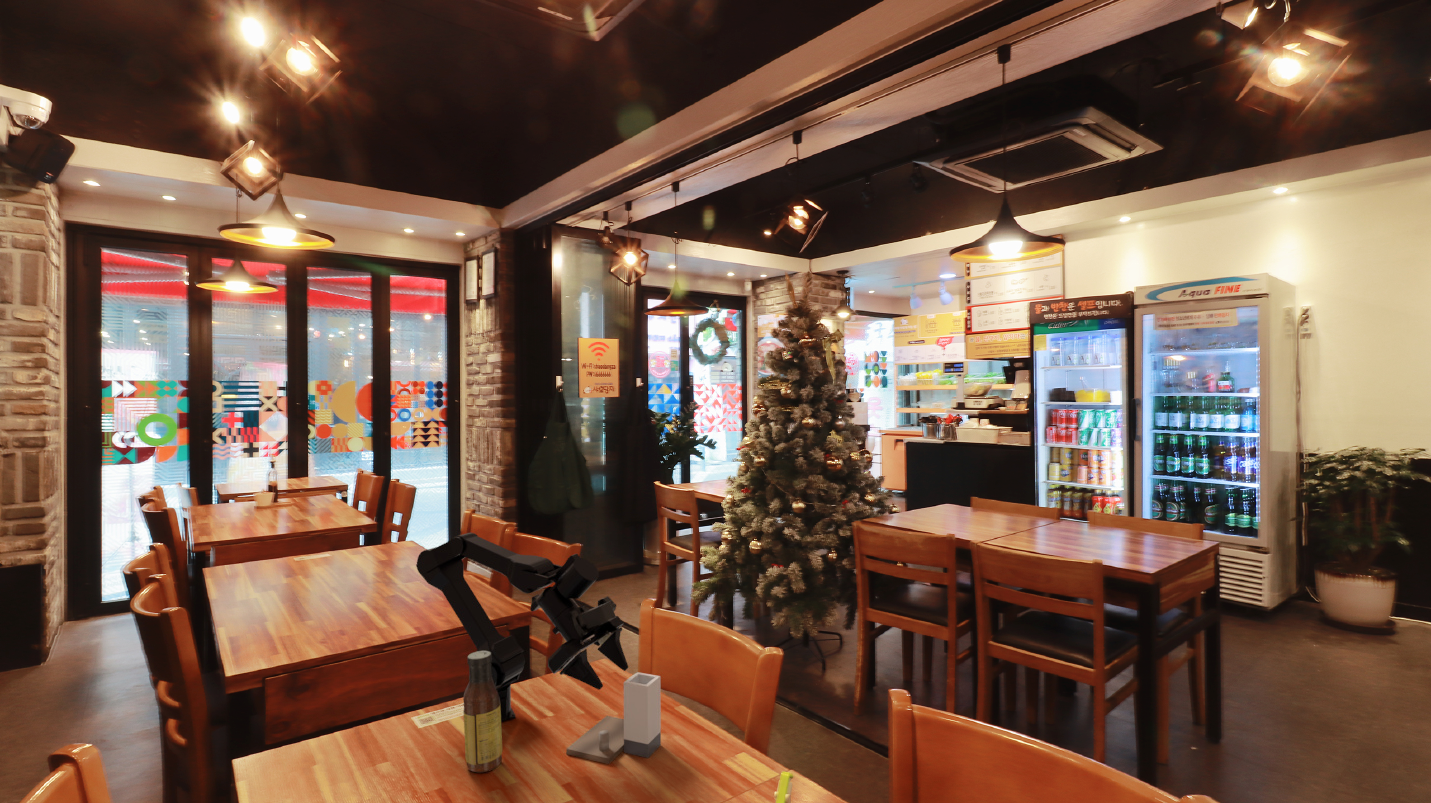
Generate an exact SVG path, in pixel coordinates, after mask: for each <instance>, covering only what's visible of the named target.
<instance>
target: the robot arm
mask: <svg viewBox="0 0 1431 803" xmlns="http://www.w3.org/2000/svg"><path fill="white" fill-rule="evenodd" d="M465 558H467V559H469V560H471V561H472V562H473V561H474V563H475V562H476V563H478V564H480V565H482V566H484V567H487V568H488V569H491V570H493V571H495V572H498V573H500V574H502V575H503V576H505V577H506V579H507V580H508V582H509V584H510V585H512V586H513V587H514V588H516V589H517V590H519V591H520V592H522V593H523V594H533V593H534V592H536V591H540V590H541V589H543V588H544V590H542V592H541V593H540V594H539V593H538V594H536V595H535V594H534V596H532V597H531V603H530V612H535V611H537V610H539V609H541V610H542V611H543V613H544V614H545V615H546V616H547V618H548V619H549V620H550V622H551V624H553V626H554V628H553V629H552V630H551V631H552V632H553V634H554V635H557V634H560V635H561V637H562V638H563V639H564V641H565V642H563V643H562V644H561V645H560V646H559V647H558V648H557V649H556V650H555V651H554V652H553V653H552V654H551V655H550V656H549V657H548V658H547V667H548V668H549V670H550V671H551V673H552V674H553V675H555V674H557V673H558V672H559V675H561V676H562V675H565V676H567V677H570V678H573V679H576V680H578V681H580V682H582V683H584V684H586V685H588V686H590V687H592V688H594V689H597V690H599V691H600V690H601V689H602V688H603V687H604V685H603V682H602V680H601V679H600V677H599V676H598V674H597V673H596V671H595V669H594V667H592V665H591V664H590V662H589V660H588V650H587V648H588V647H589V648H590V646H592V645H594V646H595V645H596V646H597V647H598V648H597V650H598V652H600V653H601V654H602V655H603V656H605V657H606V658H607V660H609V661H611V662H612V663H613V664H614V665H615V666H616V667H618V668H619V669H621V670H622V671H623V672H626V671H627V670H628V669H629V664H628V662H627V660H626V656H625V653H624V651H623V648H622V644H621V639H620V638H621V632H622V631H623V627H622V626H623V625H624V621H623V620H622V619H621V618H620V616H618V615H616V613H615V611H616V610H617V604H616V603H615V602H614V600H612V599H611V597H609V596H605V597H602V598H600V599H599V600H597V605H596V606H595V607H592V608H590V609H589V608H588V607H587V606H586V605H584V604H582V605H581V606H579V605H578V604H577V602H576V601H575V600H578V599H580V598H581V597H582V596H583V595H584V594H585V593H586V592H587V591H588V590H589V589H590V588H591V587H592V585H593V584H594V583H595V582H596V581H598V579H599V576H600V572H599V570H598V567H597V566H596V565H595V564H594V563H593V562H592V561H590V560H588V559H587V558H584V557H580V555H579V554H578V553H574V554H572V555H570V556H569V557H568V558H567V559H566V561H565V563H564V564H563V565H559V564H556V563H553V561H552V560H550V559H549V558H547V557H543V556H538V555H531V554H528V555H527V554H519V553H516V552H514V551H511V550H509V549H507V548H505V547H503V546H501V545H498V544H495V543H494V542H491V541H489V540H487V539H484V538H483V537H480V536H479V535H478V534H477V533H473V532H467V533H463V534H459V535H455V536H454V537H453V538H451V539H450V540H448V541H447V542H444V543H443V544H441V545H438V546H436V547H432V548H428V549H425V550H422V551H421V552H420V553H419V555H418V556H417V561H416V564H415V565H416V567H415V568H416V569H417V572H418V573H419V575H420V576H421V577H422V578H423V579H424V581H425V582H426V583H427V584H428V585H430V586H432V587H434V588H436V589H438V590H440V591H441V592H442V594H443V595H444V597H445V598H446V600H447V602H448V603H449V604H448V605H450V607H451V608H452V610H453V612H454V613H455V615H456V617H457V618H458V619H459V620H458V621H460V623H461V625H462V627H463V628H464V630H465V631H466V633H467V634H468V636H469V638H470V640H471V641H472V643H473V644H474V646H475V648H476V652H477V651H488V652H490V653H491V656H492V661H491V674H492V679H493V682H494V685H495V687H496V690H497V692H498V695H499V698H500V711H501V722H504V721H509V720H513V719H516V713H515V711H514V710H513V708H512V704H511V703H512V699H511V698H512V696H511V694H512V692H511V690H512V688H511V684H512V683H514V682H516V681H518V680H519V678H520V676H521V675H520V674H521V673H522V672H523V670H524V667H525V662H526V659H525V656H524V653H523V652H524V651H525V650H524V649H523V647H521V646H520V645H519V644H518V641H517V639H516V637H515V636H514V635H512V634H511V635H509V636H507V637H506V636H503V635H502V634H500V633H499V631H498V630H497V628H496V627H495V625H494V623H493V621H492V620H491V619H490V617H489V616H488V614H487V613H486V612H487V611H485V609H484V608H483V606H482V605H481V602H480V601H479V600H478V598H477V597H476V595H475V592H473V590H472V588H471V587H470V585H469V584H468V582H467V581H466V579H465V576H464V574H465V573H464V572H465V571H464V570H465V569H464V568H465V565H464V561H463V560H464V559H465ZM552 583H554V585H553V586H551V585H552Z"/></svg>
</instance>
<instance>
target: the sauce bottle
mask: <svg viewBox="0 0 1431 803" xmlns="http://www.w3.org/2000/svg"><path fill="white" fill-rule="evenodd" d="M491 661H492V656H491V653H490V652H488V651H477V650H476V651H474V652H471V653H470V654H468V655H467V665H468V669H469V670H468V671H469V672H468V674H469V677H468V684H467V686H466V687H465V689H464V693H463V699H462V700H463V729H464V751H465V752H464V753H465V754H464V755H465V756H464V757H465V762H466V768H467V769H468V770H469V771H470V772H472V773H473V772H474V773H478V774H481V773H487V772H491V771H493V770H494V769H497V767H499V766H500V765H501V763H502V760H503V756H502V755H503V738H502V736H503V734H502V733H503V732H502V721H501V711H500V698H499V695H498V692H497V690H496V687H495V685H494V682H493V679H492V674H491ZM469 771H468V772H469Z"/></svg>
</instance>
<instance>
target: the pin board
mask: <svg viewBox="0 0 1431 803" xmlns="http://www.w3.org/2000/svg"><path fill="white" fill-rule="evenodd" d="M565 749H566V752H565V753H566V755H569V756H573V757H577V758H581V759H586V760H590V761H594V762H598V763H602V764H607V765H610V764H611V763H612V762H613V761H614V760H616V758H617V757H618V756H619V755H620V754H621V753H623V752H624V718H620V717H617V716H616V717H615V716H611V715H606V716H604V717H603V718H602V719H601V720H600V721H598V722H597V723H596V724H595V725H593V727H591V728H590V729H588V730H587V731H586V732H585V733H584V734H582V735H581V736H580V737H579V738H577V739H576V740H575V741H574V742H573V743H572V744H570V745H569V746H568V747H566V748H565Z"/></svg>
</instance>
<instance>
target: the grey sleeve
mask: <svg viewBox="0 0 1431 803" xmlns="http://www.w3.org/2000/svg"><path fill="white" fill-rule="evenodd" d="M661 709H662V708H661V675H655V674H650V673H643V672H639V671H638V672H635V673H634V674H633V675H631V676H630V677H628V678H627V679H626V680H625V681H623V719H624V750H623V753H625V754H629V755H633V756H638V757H641V758H646V759H648V758H650V757H651V756H652V754H654V753H655V752H656V751H657V749H658V748H659V747H660V746H662V744H661V743H662V742H661V737H662V736H661V735H662V734H661V730H662V727H661V723H662V722H661V717H662V716H661V713H662V712H661Z"/></svg>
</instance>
